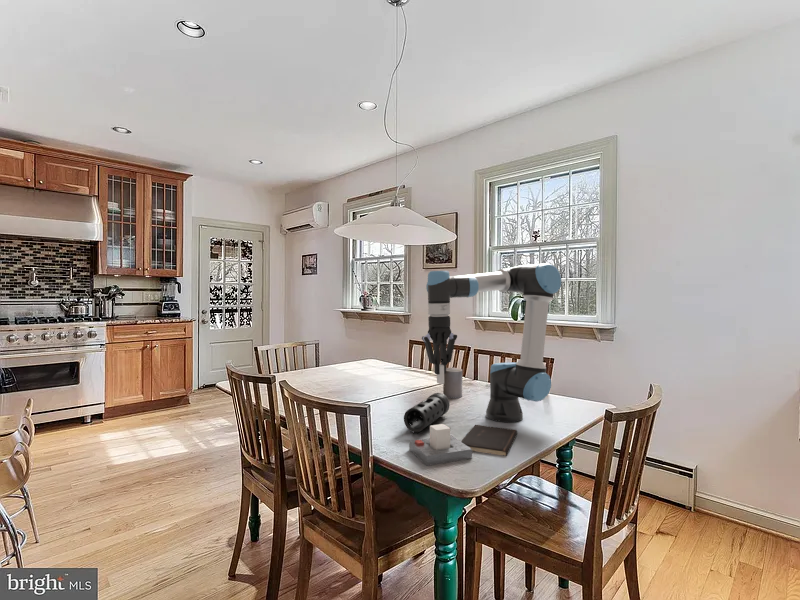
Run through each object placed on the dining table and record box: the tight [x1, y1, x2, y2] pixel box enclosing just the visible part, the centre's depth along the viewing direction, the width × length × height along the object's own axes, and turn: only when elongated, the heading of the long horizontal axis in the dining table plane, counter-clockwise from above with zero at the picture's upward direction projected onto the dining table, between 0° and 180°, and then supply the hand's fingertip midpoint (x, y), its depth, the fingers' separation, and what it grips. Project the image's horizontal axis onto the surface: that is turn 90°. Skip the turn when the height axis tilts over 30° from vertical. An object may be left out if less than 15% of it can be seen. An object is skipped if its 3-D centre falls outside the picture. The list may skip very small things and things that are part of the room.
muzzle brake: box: [403, 392, 451, 435], centre depth 174 cm, size 10×28×10 cm, turn 154°
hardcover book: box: [461, 424, 518, 457], centre depth 154 cm, size 16×23×2 cm
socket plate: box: [408, 434, 473, 467], centre depth 142 cm, size 16×14×4 cm
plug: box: [429, 423, 451, 450], centre depth 142 cm, size 5×5×9 cm
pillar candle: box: [442, 366, 463, 399], centre depth 219 cm, size 10×10×15 cm
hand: (440, 383), depth 150 cm, fingers closed
